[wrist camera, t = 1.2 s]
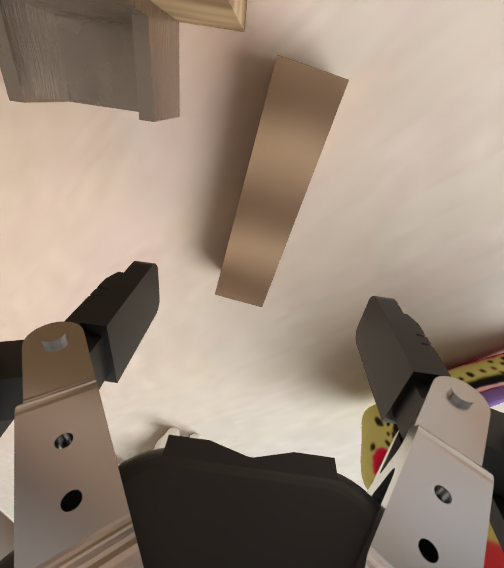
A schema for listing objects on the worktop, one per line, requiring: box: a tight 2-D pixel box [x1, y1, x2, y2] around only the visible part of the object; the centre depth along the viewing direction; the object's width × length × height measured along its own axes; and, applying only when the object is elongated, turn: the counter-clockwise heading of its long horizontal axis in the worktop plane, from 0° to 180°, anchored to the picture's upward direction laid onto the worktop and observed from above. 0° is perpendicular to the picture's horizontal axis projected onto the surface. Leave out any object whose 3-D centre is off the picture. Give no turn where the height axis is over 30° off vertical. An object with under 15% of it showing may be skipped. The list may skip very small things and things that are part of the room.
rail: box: [215, 55, 349, 307], centre depth 21 cm, size 16×4×4 cm, turn 164°
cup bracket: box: [0, 0, 179, 122], centre depth 16 cm, size 5×8×7 cm, turn 83°
